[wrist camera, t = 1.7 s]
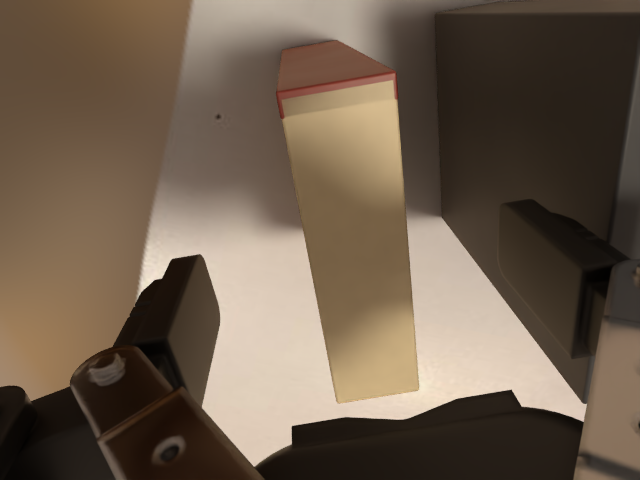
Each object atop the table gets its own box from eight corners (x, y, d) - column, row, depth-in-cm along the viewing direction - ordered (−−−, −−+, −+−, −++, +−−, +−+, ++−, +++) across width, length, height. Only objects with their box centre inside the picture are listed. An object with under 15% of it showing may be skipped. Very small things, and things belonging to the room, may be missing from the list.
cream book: (281, 49, 20) (275, 91, 9) (338, 39, 20) (396, 70, 9) (314, 231, 24) (336, 404, 13) (361, 223, 24) (420, 391, 13)
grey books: (434, 12, 20) (664, 12, 8) (634, -23, 20) (1186, -80, 8) (441, 218, 24) (594, 420, 12) (603, 190, 24) (918, 366, 12)
